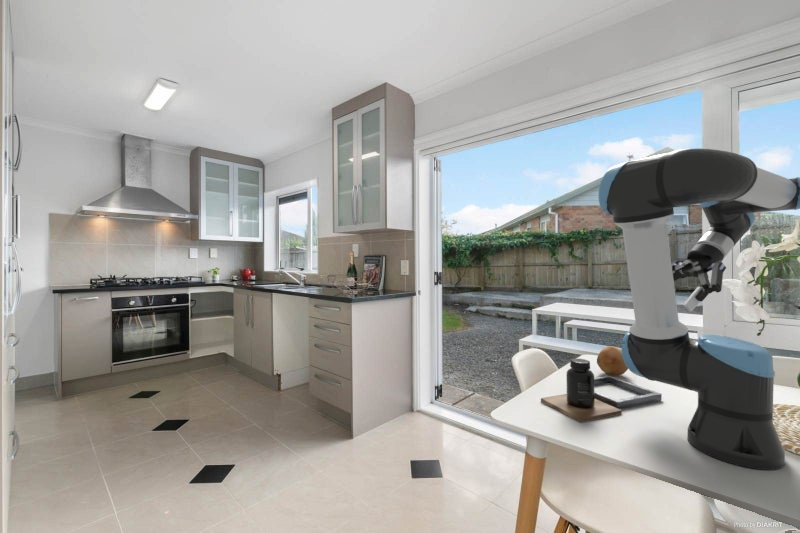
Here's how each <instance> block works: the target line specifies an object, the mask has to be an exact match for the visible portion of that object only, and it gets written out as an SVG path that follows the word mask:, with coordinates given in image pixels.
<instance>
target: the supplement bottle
mask: <svg viewBox="0 0 800 533" xmlns="http://www.w3.org/2000/svg"><path fill="white" fill-rule="evenodd" d="M569 367H570V368H569V369H568V370H567V371H566V394H567V402H568V404H570V405H571V406H574V407H577V408H583V409H588V408H592V407H593V406H594V401H595V399H594V391H595V386H594V378H595V374H594V373H593V372H592V370H591V362H590V360H588V359H584V358H571V359H570V364H569Z"/></svg>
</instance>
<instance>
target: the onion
mask: <svg viewBox="0 0 800 533" xmlns="http://www.w3.org/2000/svg"><path fill="white" fill-rule="evenodd" d="M596 364H597V366H598V368H600V370H601V371H602V372H603V373H604V374H607V375H608V376H616V377H619V376H622V375H624V374H625V373H626V372H627V371H628V370H629V369H628V368H627V366H626V364H625V363H624V360H623V357H622V349H620V348H618V347H616V346H611V345H609V346H606V347H604V348H602V350H600V351H599V353H598V355H597V357H596Z"/></svg>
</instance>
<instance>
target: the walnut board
mask: <svg viewBox="0 0 800 533" xmlns="http://www.w3.org/2000/svg"><path fill="white" fill-rule="evenodd" d="M540 402H541V403H543V404H544V403H545V405H547V406H548V405H549V407H551V408H552V409H554V410H556V411H558V412H560V413H561V414H564V415H565V416H568V417H570V419H573V420H575V421H577V422H579V423H586V422H591V421H596V420H599V419H604V418H609V417H613V416H618V415H622V414H623V411H622V409H618V408H615V407H613V406H611V405H608V404H606V403H604V402H601V401H599V400H597V399H595V401H594V406H593V407H592V408H588V409H583V408H577V407H574V406H571V405H570V404H568V402H567V393H564V394H557V395H552V396H545V397H541V398H540Z"/></svg>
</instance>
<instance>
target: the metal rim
mask: <svg viewBox="0 0 800 533" xmlns="http://www.w3.org/2000/svg"><path fill="white" fill-rule="evenodd" d="M606 384H607V385H608V384H610V385H612V386H615V387H618V388H620V389H621V388H622V389H624V390H626V391H629V392H632V393H635V394H638V395H636V396H631V397H630V396H629V397H627V398H621V399H615V398H612V397H609V396H608V395H605V394H602V393H600V392H598V391H595V390H594V399H597V400H599V401H601V402H604V403H606V404H608V405H611V406H613V407H615V408H618V409H620V410H622V409H626V408H632V407H638V406H643V405H647V404H648V405H649V404H653V403H657V402H661V401H662V398H663V397H662V393H660V392H658V391H654V390H651V389H649V388H646V387H642V386H640V385H637V384H633V383H631V382H628V381H625V380H623V379H619V378H616V377H614V376H612V375H603V376H598V377H597V376H596V377H594V387H595V386H600V385H606Z"/></svg>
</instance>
